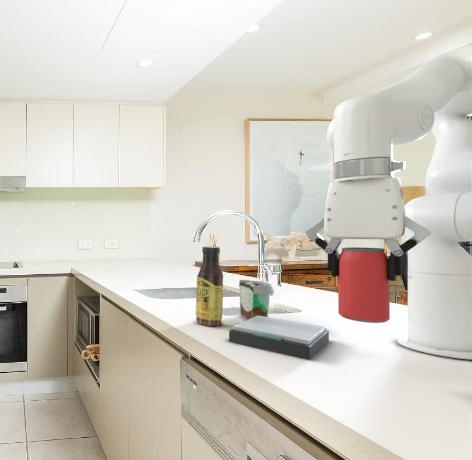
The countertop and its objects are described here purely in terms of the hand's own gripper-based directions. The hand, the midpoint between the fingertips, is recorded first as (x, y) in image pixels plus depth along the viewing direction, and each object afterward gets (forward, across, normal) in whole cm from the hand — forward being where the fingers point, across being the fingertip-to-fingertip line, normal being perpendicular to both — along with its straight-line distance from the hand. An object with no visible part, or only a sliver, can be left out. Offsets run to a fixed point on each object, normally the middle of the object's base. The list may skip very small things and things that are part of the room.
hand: (362, 277), depth 60 cm
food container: (+17, +24, -25) cm, 39 cm away
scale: (+16, +15, -8) cm, 23 cm away
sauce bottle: (+16, +31, -11) cm, 37 cm away
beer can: (+7, 0, 0) cm, 7 cm away
